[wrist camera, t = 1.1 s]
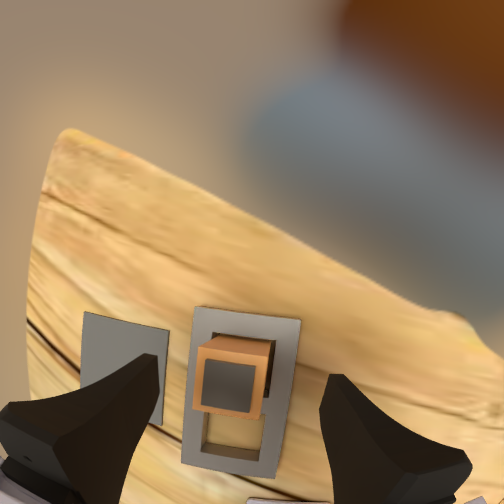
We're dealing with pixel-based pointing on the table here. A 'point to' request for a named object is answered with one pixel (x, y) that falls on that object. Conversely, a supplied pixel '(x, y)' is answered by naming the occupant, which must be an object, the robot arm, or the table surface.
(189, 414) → the grey flat frame
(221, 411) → the plug
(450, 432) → the table surface
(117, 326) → the mat
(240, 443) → the table surface
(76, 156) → the table surface
